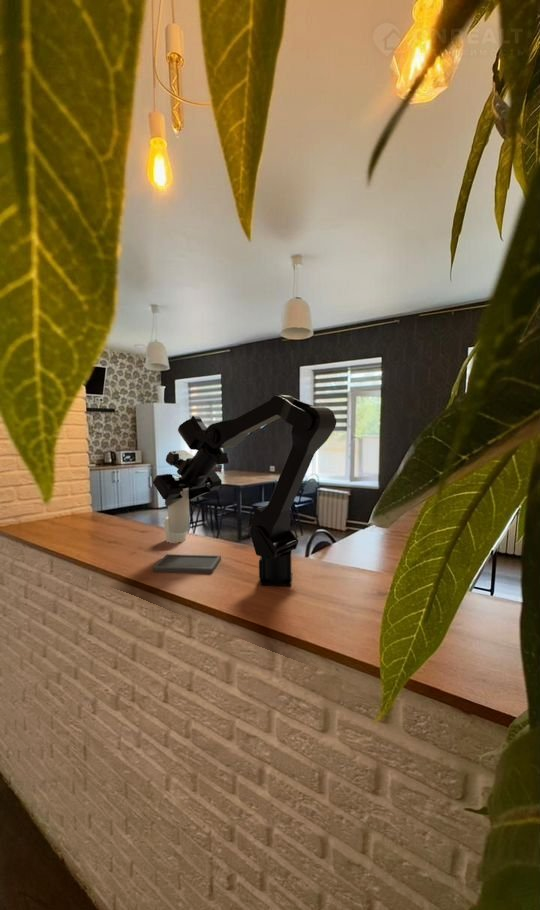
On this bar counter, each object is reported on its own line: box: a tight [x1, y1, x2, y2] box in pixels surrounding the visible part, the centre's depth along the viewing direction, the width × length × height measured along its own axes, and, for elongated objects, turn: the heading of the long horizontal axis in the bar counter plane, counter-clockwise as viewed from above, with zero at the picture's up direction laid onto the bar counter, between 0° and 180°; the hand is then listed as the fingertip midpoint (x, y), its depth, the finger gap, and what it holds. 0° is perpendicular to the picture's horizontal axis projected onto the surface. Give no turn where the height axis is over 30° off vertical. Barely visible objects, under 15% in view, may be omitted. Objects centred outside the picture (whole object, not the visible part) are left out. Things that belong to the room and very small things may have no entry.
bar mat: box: [152, 554, 222, 574], centre depth 96 cm, size 14×9×1 cm, turn 84°
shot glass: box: [162, 515, 187, 544], centre depth 117 cm, size 7×7×7 cm
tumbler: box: [167, 477, 191, 533], centre depth 105 cm, size 6×6×14 cm
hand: (175, 503), depth 106 cm, fingers closed on tumbler, 5 cm apart
